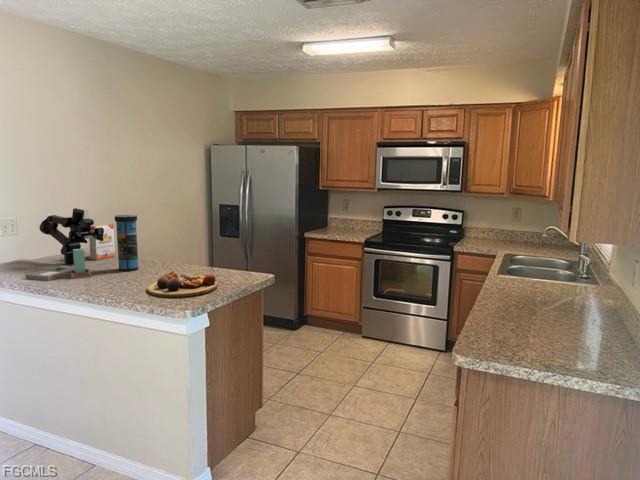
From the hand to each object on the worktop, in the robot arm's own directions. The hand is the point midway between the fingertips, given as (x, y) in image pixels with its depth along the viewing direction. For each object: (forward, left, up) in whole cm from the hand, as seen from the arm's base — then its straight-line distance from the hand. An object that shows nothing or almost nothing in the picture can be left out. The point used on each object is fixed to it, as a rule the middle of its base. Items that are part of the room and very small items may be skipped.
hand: (95, 241), depth 245 cm
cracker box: (-19, +28, -16) cm, 38 cm away
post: (+2, -14, -16) cm, 21 cm away
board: (-13, -17, -16) cm, 26 cm away
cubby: (+2, -14, -16) cm, 21 cm away
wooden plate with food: (+65, -19, -17) cm, 70 cm away
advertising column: (+16, +6, -16) cm, 23 cm away
